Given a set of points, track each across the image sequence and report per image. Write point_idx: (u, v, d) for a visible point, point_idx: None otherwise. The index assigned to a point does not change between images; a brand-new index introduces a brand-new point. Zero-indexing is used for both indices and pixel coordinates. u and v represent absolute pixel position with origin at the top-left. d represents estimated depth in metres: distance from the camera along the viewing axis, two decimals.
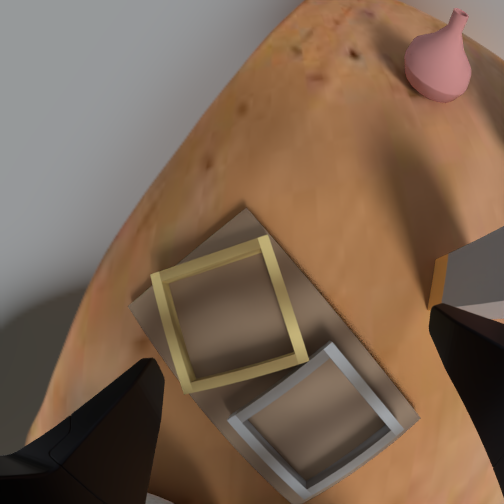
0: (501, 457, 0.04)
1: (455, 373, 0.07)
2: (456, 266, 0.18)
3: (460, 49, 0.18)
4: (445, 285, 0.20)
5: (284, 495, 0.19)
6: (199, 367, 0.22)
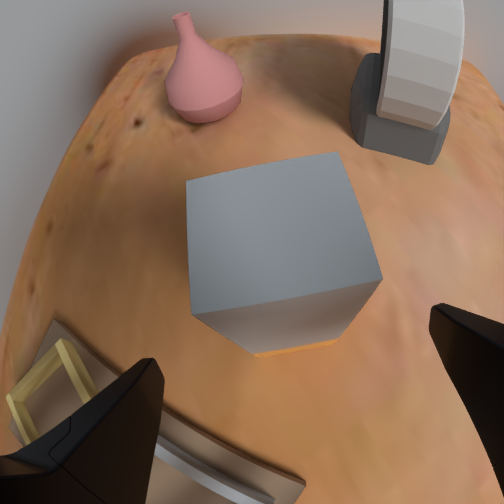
0: (501, 457, 0.04)
1: (455, 373, 0.07)
2: None
3: (202, 51, 0.22)
4: None
5: None
6: None
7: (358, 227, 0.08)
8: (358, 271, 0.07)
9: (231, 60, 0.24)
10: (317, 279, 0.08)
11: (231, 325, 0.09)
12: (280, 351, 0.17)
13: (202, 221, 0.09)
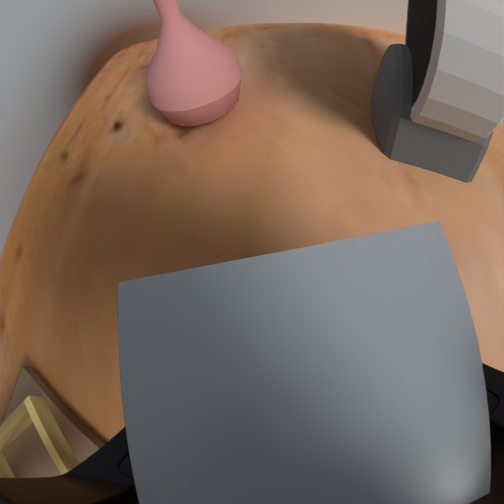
0: None
1: None
2: None
3: (190, 36, 0.16)
4: None
5: None
6: None
7: (475, 409, 0.03)
8: (457, 492, 0.02)
9: (227, 48, 0.19)
10: None
11: None
12: None
13: (150, 391, 0.04)
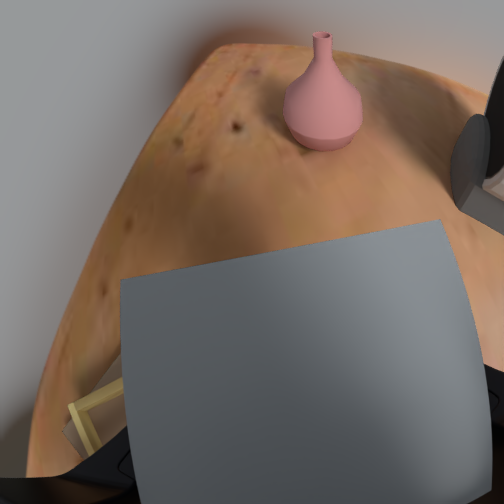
0: None
1: None
2: None
3: (336, 79, 0.21)
4: None
5: None
6: None
7: (476, 407, 0.03)
8: (459, 490, 0.02)
9: (358, 93, 0.23)
10: None
11: None
12: None
13: (152, 390, 0.04)
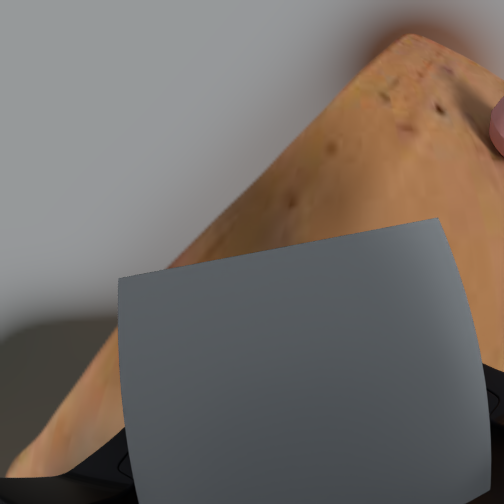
0: None
1: None
2: None
3: None
4: None
5: None
6: None
7: (475, 406, 0.03)
8: (458, 489, 0.02)
9: None
10: None
11: None
12: None
13: (149, 388, 0.04)
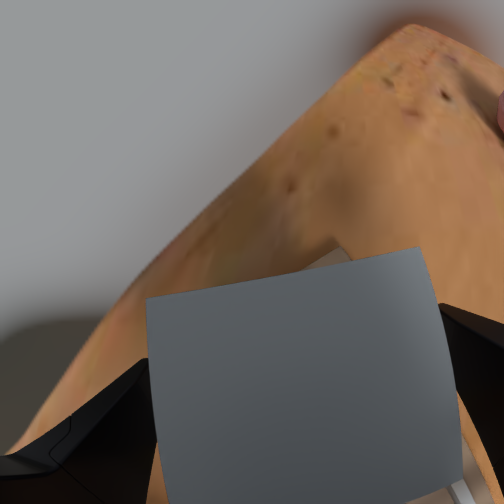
0: (501, 457, 0.04)
1: (455, 373, 0.07)
2: None
3: None
4: None
5: None
6: None
7: (446, 406, 0.04)
8: (433, 476, 0.03)
9: None
10: (371, 497, 0.03)
11: None
12: None
13: (176, 390, 0.04)
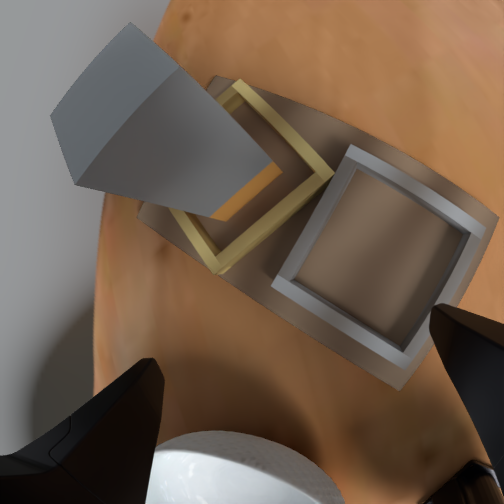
0: (501, 457, 0.04)
1: (455, 373, 0.07)
2: None
3: None
4: None
5: (380, 377, 0.17)
6: (224, 241, 0.20)
7: (152, 51, 0.08)
8: (160, 75, 0.07)
9: None
10: (134, 101, 0.08)
11: (122, 181, 0.10)
12: (235, 202, 0.19)
13: (64, 128, 0.09)
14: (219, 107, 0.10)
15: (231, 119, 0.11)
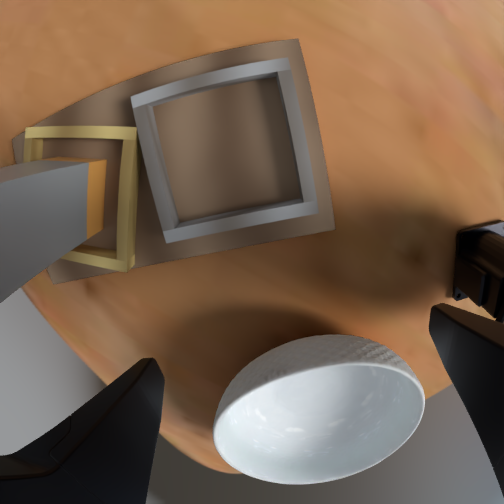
0: (501, 457, 0.04)
1: (455, 373, 0.07)
2: None
3: None
4: None
5: (309, 232, 0.20)
6: (115, 242, 0.20)
7: None
8: None
9: None
10: None
11: (5, 284, 0.10)
12: (94, 212, 0.18)
13: None
14: (11, 181, 0.09)
15: (26, 177, 0.10)
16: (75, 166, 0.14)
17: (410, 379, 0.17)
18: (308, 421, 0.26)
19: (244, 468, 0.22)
